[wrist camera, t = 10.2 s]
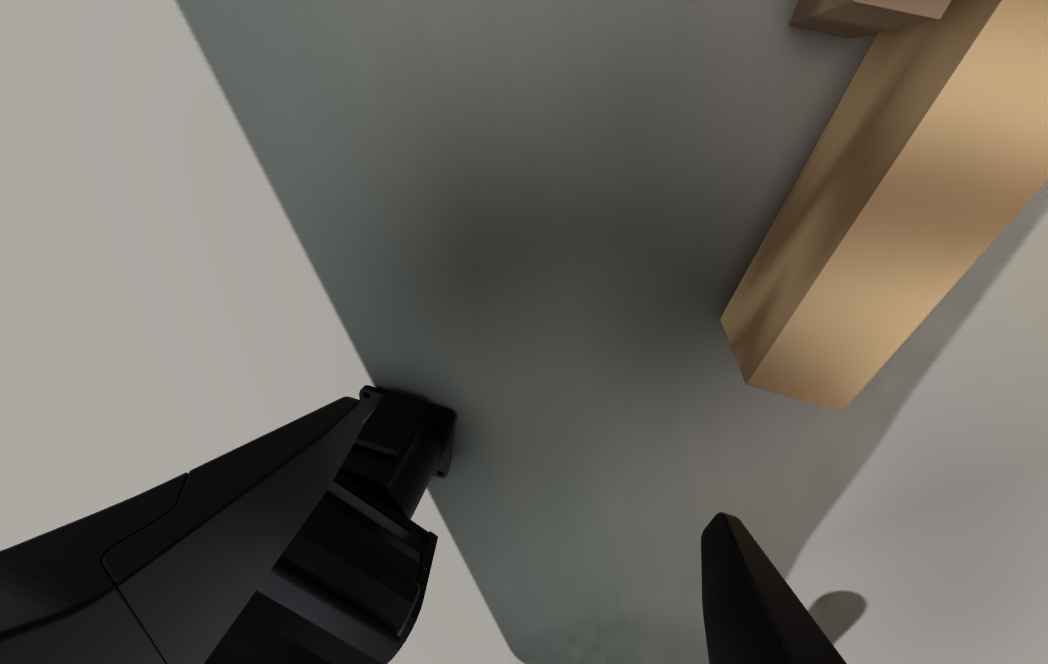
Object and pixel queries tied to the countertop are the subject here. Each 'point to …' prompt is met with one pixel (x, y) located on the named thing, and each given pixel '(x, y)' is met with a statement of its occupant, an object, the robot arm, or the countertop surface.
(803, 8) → the notched wooden block
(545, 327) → the countertop surface
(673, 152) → the countertop surface
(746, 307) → the oak rail
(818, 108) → the countertop surface
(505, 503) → the countertop surface
